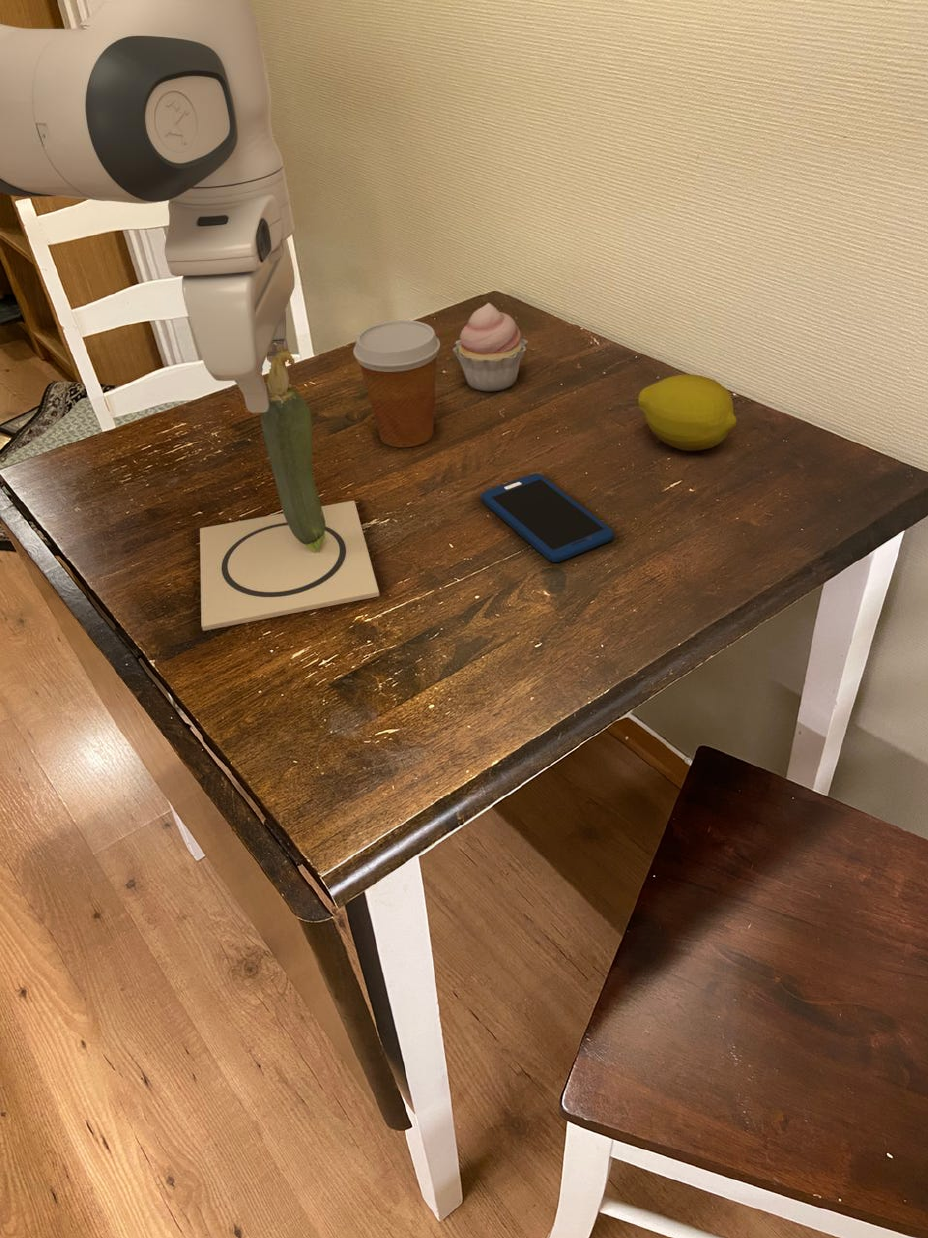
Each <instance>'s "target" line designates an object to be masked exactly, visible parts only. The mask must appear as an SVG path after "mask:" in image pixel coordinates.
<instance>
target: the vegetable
mask: <svg viewBox="0 0 928 1238" xmlns="http://www.w3.org/2000/svg"><path fill="white" fill-rule="evenodd" d="M292 354H293V352H290V350H289V351H288V350H287V349H283V350H282V351H281V352H279V353H277V355H276V356H275V357H274V358H272V359H271V360H272V361H273V362H271V363H270V368H269V370H268V376H267V380H266V384H268V386H269V391H270V396H271V403H270V406H269V409H268V411H267V412H262V413H260V424H261V431H262V436H263V441H264V445H265V448H266V449H265V450H266V453H267V455H268V458H269V463H270V468H271V472H272V475H273V477H274V478H273V479H274V482H275V486H276V490H277V494H278V498H279V503H280V506H281V510H282V513H284V516H285V518H286V521H287V523H288V525H289V527H290V529H291V531H292V533H293V535H294V536H295V537H296V538H297V539H298V540H299V541H300V542H301V543H303V544H305V545H306V546H307V547H308V548H309V549H311V550H312V551H314V552H317V549H318V550H319V548H320V546H321V544H322V542H323V540H324V538H325V533H324V531H325V528H326V524H325V519H324V515H323V512H322V508H321V506H322V505H321V501H320V496H319V492H318V489H317V486H316V482H315V477H314V470H313V455H314V437H313V436H314V434H313V421H312V414H311V411H310V408H309V406H308V404H307V402H306V399H304V398H303V397H302V396H301V395H300V394H299V392H297V391H296V390H294V389H293V388H291V387H292V383H290V377H289V373H288V368H287V365H286V363H288V364H289V365H291V366H294V365H296V364H295V362H296V361H295V358H294V357H293V356H292Z"/></svg>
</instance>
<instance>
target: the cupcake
mask: <svg viewBox="0 0 928 1238" xmlns="http://www.w3.org/2000/svg"><path fill="white" fill-rule="evenodd" d="M467 321H468V322H467V324H466V325H464V327H463V328H462V329H461V332H460V335H459V339H458V340H456V341H455V342H454V343H455V345H456V346H455V347H453V348H452V351H453V353H454V354H455V356H456V358H457V359H458V362H460V366H461V368H462V370H463V374H464V377H465V380H466V382H467V385H468V386H469V387H470V388H472V389H474V390H477V391H480V392H498V391H503V390H506V389H509V388H511V387H512V386H513V385H514V384H515V383H516V381H517V379H518V375H519V370H520V365H521V361H522V359H523V356H524V354H525V352H526V350H527V348H526V346H527V345H528V342H529V341H528V340H527V339H523V338H522V333H521V331H520V328H519V326H518V325H517V323H516V321H515V320H514V319H513V318H512V316H510V314H507V313H504V312H500V311H499V310H498V309H497V308H496V307H495V306H494V305H493V304H492V303H490V302H487V303H486V304H485V305H484V306H482V307H479V308H477V309H476V310H474V312H473V313H472V314H471V316H470V317H469V319H468V320H467Z"/></svg>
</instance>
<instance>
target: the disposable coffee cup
mask: <svg viewBox="0 0 928 1238" xmlns="http://www.w3.org/2000/svg"><path fill="white" fill-rule="evenodd" d="M440 347H441V341H440V339H439V338H438V337H437V335H436V332H435V329H434V328H433V327H432V326H431V325H429V324H427V323H425V322H421V321H417V320H409V319H407V320H406V319H405V320H402V319H401V320H397V319H396V320H389V321H382V322H379V323H375V324H373V325H369V326H368V327H366V328H364V329H363V330H361V331H359V333H358V334H357V335H356V338H355V346H354V347H353V350H352V352H353V356H354V357H355V359H356V360H357V363H358V364H359V366H360V369H361V373H362V376H363V380H364V384H365V388H366V391H367V394H368V398H369V401H370V406H371V409H372V413H373V416H374V420H375V424H376V427H377V430H378V435H379V439H380V440H381V442H382V443H384V444H385V445H388V446H390V447H394V448H411V447H417V446H420V445H422V444H424V443H426V442H428V441H429V440H430V439H432V438H433V435H434V428H435V427H434V426H435V425H434V423H435V421H434V420H435V401H436V400H435V399H436V377H437V375H436V374H437V373H436V372H437V356H438V354H439V351H440Z"/></svg>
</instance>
